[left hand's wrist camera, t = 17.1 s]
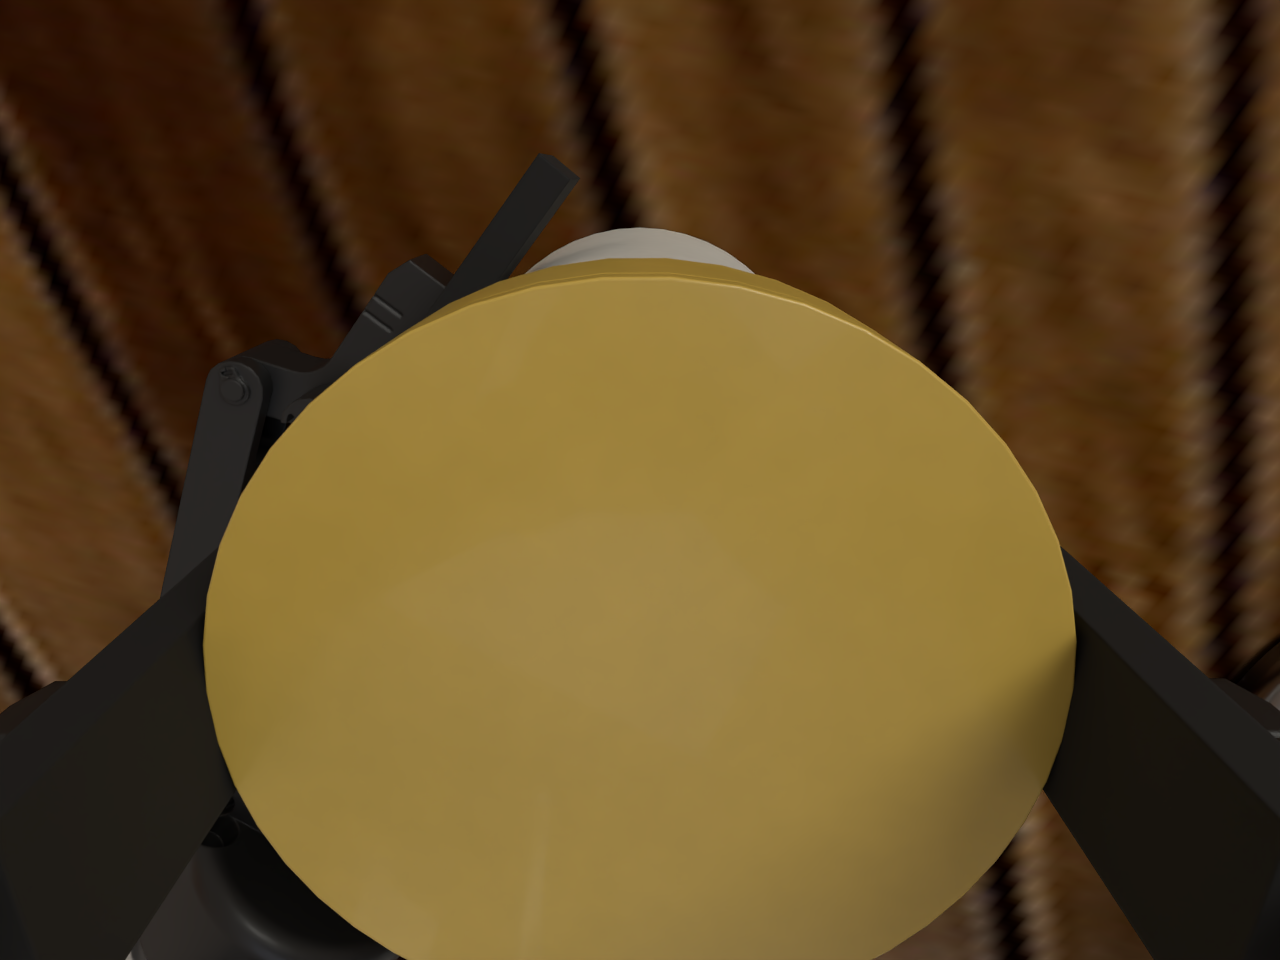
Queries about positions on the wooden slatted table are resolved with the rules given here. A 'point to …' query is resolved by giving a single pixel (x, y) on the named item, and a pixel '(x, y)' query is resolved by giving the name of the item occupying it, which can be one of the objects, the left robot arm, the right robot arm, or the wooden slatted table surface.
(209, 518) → the right robot arm
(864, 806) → the lid
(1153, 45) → the wooden slatted table surface
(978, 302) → the wooden slatted table surface
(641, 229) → the jar
